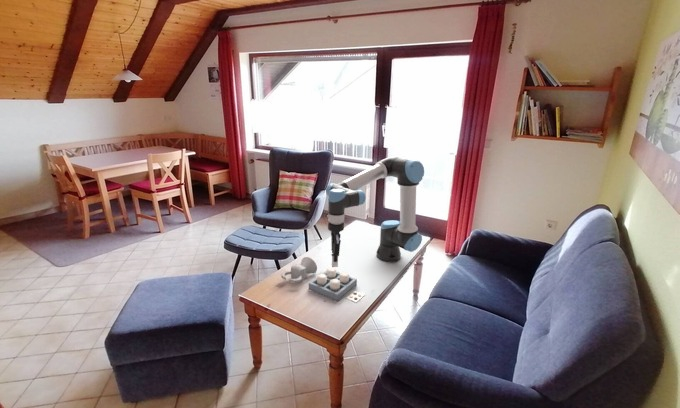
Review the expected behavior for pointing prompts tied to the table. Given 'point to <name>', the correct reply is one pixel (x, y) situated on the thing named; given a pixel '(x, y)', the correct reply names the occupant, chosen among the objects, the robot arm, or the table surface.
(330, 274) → the button
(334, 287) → the button
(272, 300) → the table surface
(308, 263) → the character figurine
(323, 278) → the button
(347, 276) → the button
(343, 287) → the button board
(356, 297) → the card
